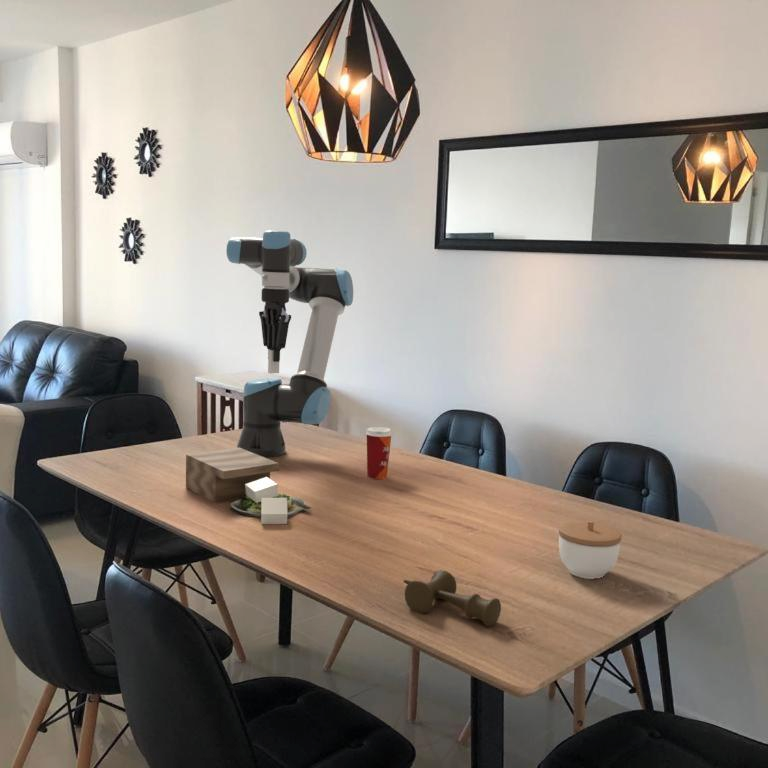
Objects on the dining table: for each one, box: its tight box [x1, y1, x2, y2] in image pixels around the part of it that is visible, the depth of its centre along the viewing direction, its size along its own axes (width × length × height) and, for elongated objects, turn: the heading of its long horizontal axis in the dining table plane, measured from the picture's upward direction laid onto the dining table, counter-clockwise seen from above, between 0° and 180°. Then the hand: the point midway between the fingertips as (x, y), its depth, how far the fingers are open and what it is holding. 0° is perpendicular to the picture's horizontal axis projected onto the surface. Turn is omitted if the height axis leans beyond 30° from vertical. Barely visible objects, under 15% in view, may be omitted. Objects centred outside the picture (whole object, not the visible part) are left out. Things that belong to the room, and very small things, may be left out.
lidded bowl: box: [558, 520, 623, 580], centre depth 174 cm, size 13×13×11 cm
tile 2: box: [260, 498, 288, 525], centre depth 199 cm, size 6×6×3 cm
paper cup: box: [365, 426, 393, 480], centre depth 241 cm, size 8×8×14 cm
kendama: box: [403, 569, 502, 628], centre depth 153 cm, size 6×10×20 cm
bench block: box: [185, 447, 280, 503], centre depth 220 cm, size 20×16×9 cm
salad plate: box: [229, 490, 312, 518], centre depth 209 cm, size 19×18×5 cm
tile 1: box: [245, 477, 280, 503], centre depth 207 cm, size 6×6×3 cm
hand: (273, 372), depth 235 cm, fingers closed
